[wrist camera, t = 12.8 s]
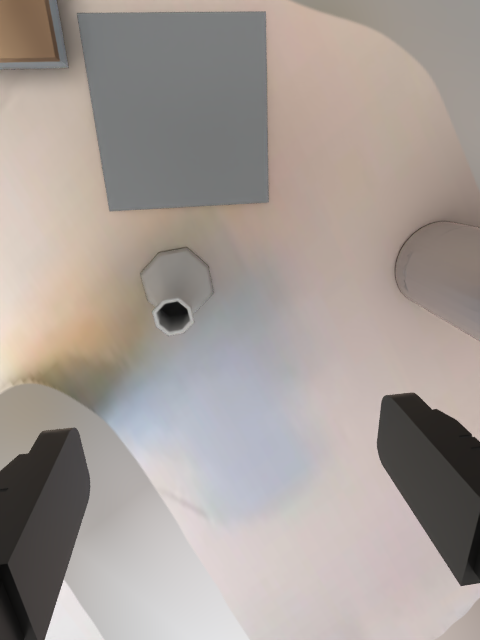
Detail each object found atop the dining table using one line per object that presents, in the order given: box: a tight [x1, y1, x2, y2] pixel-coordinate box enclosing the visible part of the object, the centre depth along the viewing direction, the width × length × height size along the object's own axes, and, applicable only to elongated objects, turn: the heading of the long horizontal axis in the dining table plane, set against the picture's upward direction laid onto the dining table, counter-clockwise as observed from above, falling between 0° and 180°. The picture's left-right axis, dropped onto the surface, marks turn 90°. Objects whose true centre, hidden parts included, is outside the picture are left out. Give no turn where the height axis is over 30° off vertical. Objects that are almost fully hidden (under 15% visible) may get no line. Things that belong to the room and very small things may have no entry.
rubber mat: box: [77, 12, 269, 211], centre depth 33 cm, size 15×15×1 cm
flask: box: [140, 248, 214, 336], centre depth 35 cm, size 7×7×10 cm
